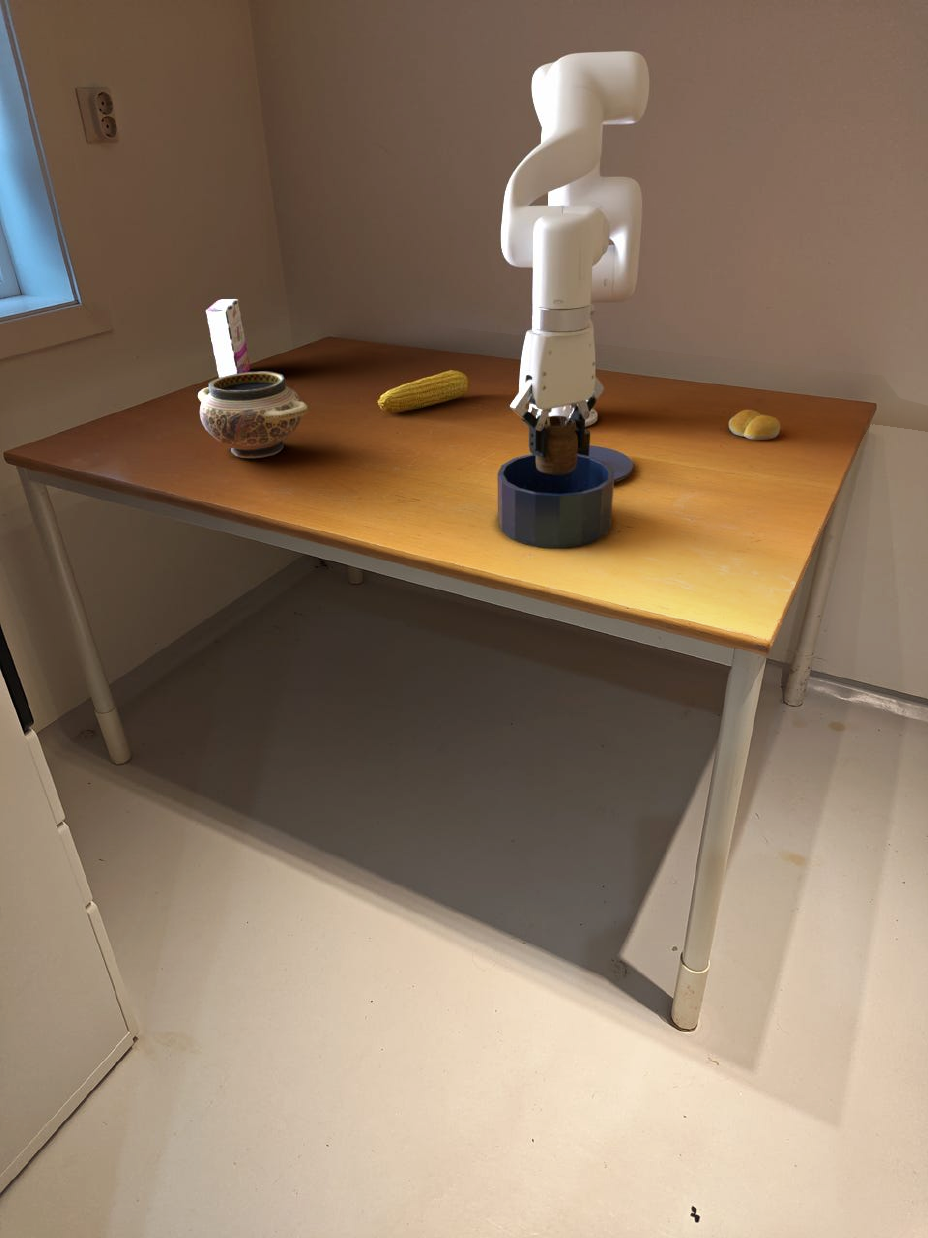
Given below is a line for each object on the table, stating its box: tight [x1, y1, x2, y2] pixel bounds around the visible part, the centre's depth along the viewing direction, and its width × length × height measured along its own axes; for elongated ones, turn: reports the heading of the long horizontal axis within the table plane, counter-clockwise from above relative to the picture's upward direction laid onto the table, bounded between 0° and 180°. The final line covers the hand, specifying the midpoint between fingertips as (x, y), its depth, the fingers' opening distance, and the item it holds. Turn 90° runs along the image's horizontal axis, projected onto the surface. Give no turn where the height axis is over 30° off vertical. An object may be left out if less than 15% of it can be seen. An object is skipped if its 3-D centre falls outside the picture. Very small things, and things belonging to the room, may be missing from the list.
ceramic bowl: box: [197, 370, 309, 459], centre depth 152 cm, size 24×18×15 cm
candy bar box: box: [205, 298, 251, 378], centre depth 193 cm, size 11×5×16 cm, turn 179°
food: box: [377, 369, 469, 413], centre depth 173 cm, size 21×6×6 cm, turn 127°
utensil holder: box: [536, 404, 578, 475], centre depth 118 cm, size 6×6×12 cm
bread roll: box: [728, 409, 781, 441], centre depth 155 cm, size 8×9×4 cm
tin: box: [496, 453, 615, 549], centre depth 123 cm, size 17×17×8 cm
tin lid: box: [577, 428, 634, 483], centre depth 141 cm, size 18×18×7 cm
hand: (556, 448), depth 119 cm, fingers closed on utensil holder, 5 cm apart
